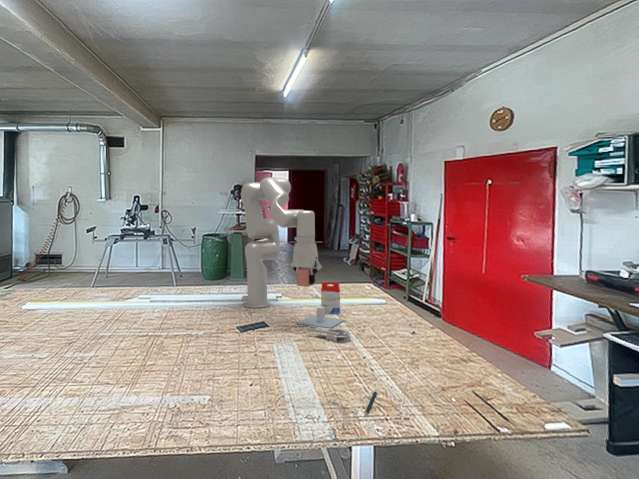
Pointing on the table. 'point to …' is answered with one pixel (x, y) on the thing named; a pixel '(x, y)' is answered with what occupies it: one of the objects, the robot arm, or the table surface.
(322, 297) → the ink box
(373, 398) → the pencil
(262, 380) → the table surface
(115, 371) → the table surface
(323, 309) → the post fixture
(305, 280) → the salmon pink block
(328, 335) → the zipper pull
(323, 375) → the table surface
